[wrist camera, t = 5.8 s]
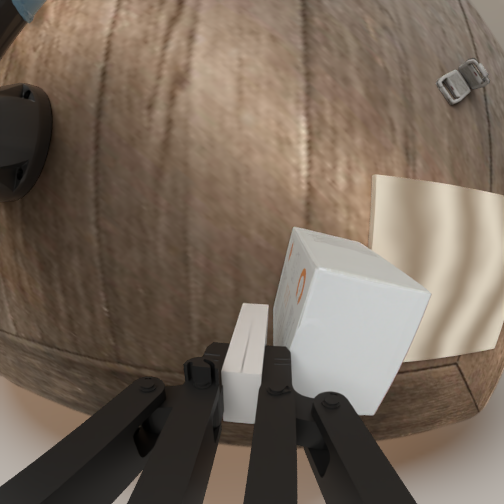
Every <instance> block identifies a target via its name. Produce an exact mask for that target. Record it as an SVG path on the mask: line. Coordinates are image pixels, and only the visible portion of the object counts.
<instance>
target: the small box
mask: <svg viewBox="0 0 504 504" xmlns="http://www.w3.org/2000/svg"><path fill="white" fill-rule="evenodd" d="M431 295H432V294H431V293H430V292H429V291H428V290H427V289H426V288H425V287H423V286H422V285H421V284H419V283H418V282H416V281H415V280H414V279H412V278H411V277H409V276H408V275H407V274H405V273H404V272H402V271H401V270H400V269H398V268H397V267H395V266H394V265H393V264H391V263H390V262H388V261H387V260H385V259H384V258H382V257H381V256H380V255H378V254H377V253H375V252H374V251H372V250H371V249H369V248H367V247H366V246H364V245H363V244H361V243H360V242H357V241H352V240H348V239H344V238H340V237H336V236H332V235H328V234H324V233H320V232H315V231H311V230H307V229H303V228H298V227H293V229H292V233H291V237H290V241H289V245H288V249H287V253H286V258H285V262H284V266H283V270H282V274H281V278H280V282H279V286H278V290H277V295H276V299H275V303H274V308H273V346H286V347H287V348H288V350H289V351H290V352H291V368H292V385H293V388H294V390H295V391H296V392H298V393H299V394H301V395H303V396H306V397H310V398H315V396H317V395H318V394H319V393H323V392H329V391H332V392H337V393H340V394H342V395H344V396H345V397H346V398H347V399H348V400H349V402H350V403H351V405H352V406H353V408H354V409H355V411H356V412H357V414H358V415H374V414H375V413H376V411H377V409H378V407H379V406H380V404H381V402H382V401H383V399H384V397H385V395H386V394H387V392H388V390H389V388H390V386H391V384H392V383H393V381H394V379H395V377H396V375H397V373H398V371H399V369H400V367H401V365H402V363H403V361H404V359H405V357H406V355H407V352H408V350H409V348H410V346H411V344H412V341H413V339H414V337H415V334H416V332H417V330H418V327H419V325H420V323H421V320H422V318H423V315H424V313H425V310H426V308H427V305H428V302H429V300H430V297H431Z"/></svg>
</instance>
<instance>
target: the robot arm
mask: <svg viewBox="0 0 504 504" xmlns="http://www.w3.org/2000/svg"><path fill="white" fill-rule="evenodd" d="M45 2H46V0H0V60H1V59H2V57H3V56H4V54H5V53H6V51H7V50H8V48H9V47H10V45H11V44H12V43H13V41H14V40H15V39H16V37H17V36H18V34H19V33H20V32H21V31H22V29H23V28H24V27H25V25H26V24H27V23H30V22H31V21H32V20H33V18H34V15H35V14H36V12H37V11H38V10H39V9H40V8H41V6H42V5H43V4H44V3H45ZM51 128H52V114H51V107H50V102H49V99H48V97H47V95H46V93H45V92H44V91H43V90H42V89H41V88H39V87H37V86H34V85H30V84H27V83H17V84H11V85H6V86H1V87H0V202H7V201H13V200H17V199H20V198H21V197H23V196H24V195H25V194H26V193H28V191H29V190H30V189H31V188H32V186H33V185H34V184H35V182H36V180H37V178H38V176H39V174H40V172H41V170H42V168H43V165H44V162H45V159H46V156H47V152H48V148H49V143H50V137H51ZM268 306H269V305H264V304H247V303H243V305H242V308H241V311H240V314H239V317H238V320H237V324H236V327H235V330H234V333H233V336H232V339H231V342H230V344H228V343H217V342H213V343H212V344H211V345H209V346H208V347H207V348H206V351H205V353H204V355H203V357H196V358H192V359H190V360H187V361H186V362H185V363H184V364H183V365H184V373H185V383H184V384H183V385H179V386H165V385H164V383H163V381H162V380H160V379H158V378H155V377H143V378H139V379H137V380H136V381H134V382H133V383H132V384H131V385H129V386H128V387H127V388H126V389H124V390H123V391H122V392H121V393H120V394H118V395H117V396H116V397H115V398H113V399H112V400H111V401H110V402H109V403H107V404H106V405H105V406H104V407H102V408H101V409H100V410H99V411H97V412H96V413H95V414H94V415H93V416H91V417H90V418H89V419H88V420H86V421H85V422H84V423H83V424H81V425H80V426H79V427H78V428H76V429H75V430H74V431H72V432H71V433H70V434H69V435H67V436H66V437H65V438H64V439H62V440H61V441H60V442H59V443H57V444H56V445H55V446H53V447H52V448H51V449H50V450H48V451H47V452H46V453H44V454H43V455H42V456H40V457H39V458H38V459H37V460H35V461H34V462H33V463H31V464H30V465H29V466H27V467H26V468H25V469H24V470H22V471H21V472H19V473H18V474H17V475H15V476H14V477H13V478H11V479H10V480H9V481H7V482H6V483H5V484H3V485H2V486H1V487H0V504H112V503H113V502H114V501H115V499H116V498H117V497H118V496H119V495H120V494H121V493H122V492H123V491H124V490H125V489H126V488H127V487H128V486H129V484H130V483H131V482H132V481H133V480H134V479H135V478H136V477H137V476H138V474H139V473H140V472H141V471H142V470H143V471H142V474H141V476H140V478H139V480H138V482H137V484H136V486H135V488H134V490H133V492H132V494H131V497H130V499H129V501H128V503H127V504H203V500H204V496H205V492H206V489H207V484H208V481H209V477H210V473H211V469H212V466H213V461H214V457H215V454H216V450H217V446H218V442H219V438H220V434H221V430H222V429H221V421H222V417H223V421H229V422H238V423H249V424H254V432H253V439H252V447H251V454H250V462H249V469H248V476H247V484H246V490H245V496H244V503H243V504H297V446H296V445H300V446H304V450H305V453H306V455H307V458H308V460H309V463H310V465H311V468H312V470H313V473H314V475H315V478H316V480H317V483H318V485H319V487H320V490H321V492H322V495H323V497H324V500H325V502H326V504H417V503H416V501H415V500H414V498H413V497H412V496H411V494H410V492H409V491H408V489H407V488H406V486H405V485H404V483H403V482H402V480H401V479H400V477H399V476H398V474H397V473H396V471H395V470H394V468H393V467H392V465H391V464H390V462H389V461H388V459H387V458H386V456H385V455H384V453H383V452H382V450H381V449H380V447H379V446H378V444H377V443H376V441H375V440H374V438H373V437H372V435H371V434H370V432H369V430H368V429H367V427H366V426H365V424H364V423H363V421H362V420H361V418H360V417H359V415H358V414H357V412H356V411H355V409H354V408H353V406H352V405H351V403H350V402H349V400H348V399H347V398H346V397H345V396H344V395H342V394H340V393H337V392H332V391H329V392H323V393H319V394H318V395H317V396H315V398H310V397H306V396H303V395H301V394H299V393H298V392H296V391H295V390H294V388H293V385H292V368H291V352H290V351H289V350H288V348H287V347H286V346H266V344H267V326H268Z"/></svg>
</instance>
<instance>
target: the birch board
mask: <svg viewBox="0 0 504 504" xmlns="http://www.w3.org/2000/svg"><path fill="white" fill-rule="evenodd" d="M368 248H369V249H371V250H372V251H374V252H375V253H377V254H378V255H380V256H381V257H382V258H384V259H385V260H387V261H388V262H390V263H391V264H393V265H394V266H395V267H397V268H398V269H400V270H401V271H402V272H404V273H405V274H407V275H408V276H409V277H411V278H412V279H414V280H415V281H416V282H418V283H419V284H421V285H422V286H423V287H425V288H426V289H427V290H428V291H429V292H430V293H431V294H432V295H431V297H430V300H429V302H428V305H427V308H426V310H425V313H424V315H423V318H422V320H421V323H420V325H419V327H418V330H417V332H416V334H415V337H414V339H413V341H412V344H411V346H410V348H409V350H408V352H407V355H406V357H405V359H404V361H403V362H410V361H419V360H428V359H436V358H443V357H450V356H456V355H462V354H468V353H473V352H479V351H484V350H489V349H494V348H495V345H496V342H497V340H498V337H499V334H500V331H501V328H502V324H503V321H504V196H503V195H499V194H494V193H490V192H485V191H480V190H475V189H470V188H465V187H460V186H454V185H448V184H442V183H436V182H430V181H423V180H416V179H409V178H401V177H393V176H385V175H372V194H371V214H370V228H369V240H368Z"/></svg>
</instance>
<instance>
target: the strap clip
mask: <svg viewBox="0 0 504 504" xmlns="http://www.w3.org/2000/svg"><path fill="white" fill-rule="evenodd" d="M472 63H474V64H475V65H476V67H477V68H478V70H479V71H480V73H481V74H482V76H483V77H484V78H483V79H482V78H481V76H480V74H479V73H478V71H477V70H476V69H475V67H474V66H473V64H472ZM458 69H459V71H457V70H453V71H451V72H450V73H448V74H446V75H444V76H442V77H441V78H440V79H439V80H438V81H437V83H436V85H437V86H438V88H439V90H440V91H441V92H442V94H443V95H444V97H445V98H446V100H447V101H448V102H449V103H450V104H455V103H457V102H460V101H461V100H462V99H463V98H464V97H465V96H466V95H468V94H469V93H470V87H471V88H472V89H477V88H481V87H485V86H486V85H487V84H489V83H490V80H489V78H488V73H487V72H486V70H485V69H484V67H483V66H482V64H481V63H480V64H479V63H478V61H477V60H476V59H475V58H471V59H468V60H467V61H466V62H464V63H463V64H462V65H461V66H460V67H459V68H458ZM460 73H461V74H460ZM443 81H444V83H445V84H446V86H447V87H448V89H449V90H450V91H451V93H452V94H453V96H454V97H455V99H456V100H453V99H452V98H451V96H450V95H449V93H448V92H447V90H446V89H445V88H444V86H443V85H442V82H443Z"/></svg>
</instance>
